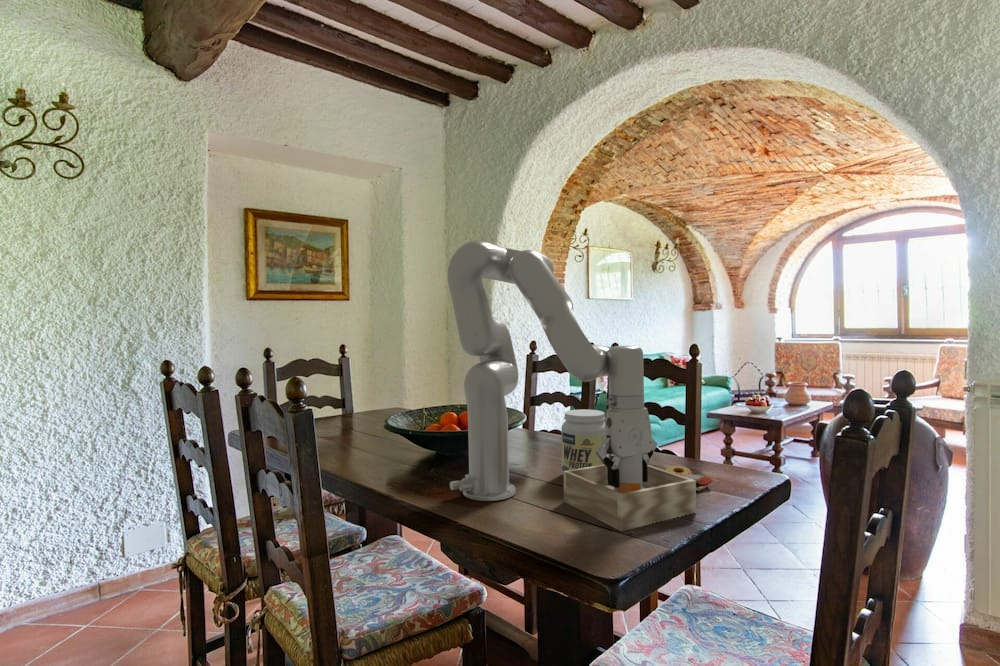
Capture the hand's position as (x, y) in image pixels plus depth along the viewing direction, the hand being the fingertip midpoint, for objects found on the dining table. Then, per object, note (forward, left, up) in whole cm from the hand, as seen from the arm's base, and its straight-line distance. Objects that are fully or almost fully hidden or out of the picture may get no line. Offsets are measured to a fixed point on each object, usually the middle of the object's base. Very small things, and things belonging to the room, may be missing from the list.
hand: (627, 482), depth 121 cm
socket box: (0, 0, -5) cm, 5 cm away
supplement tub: (+6, +24, -6) cm, 25 cm away
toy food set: (+22, +6, -6) cm, 24 cm away
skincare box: (0, 0, -3) cm, 3 cm away
